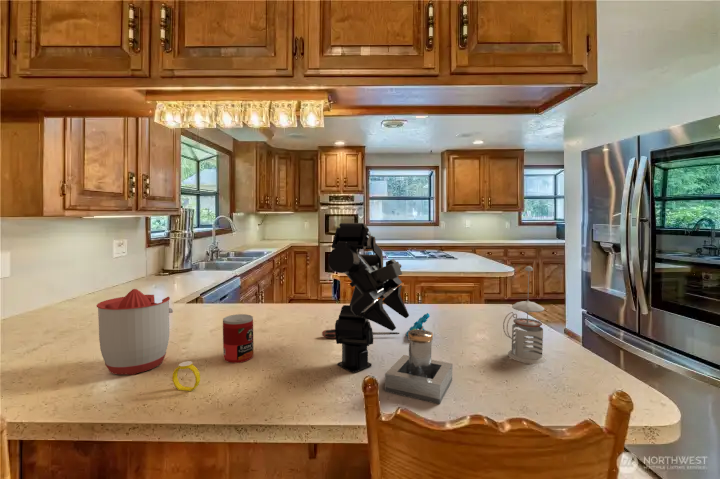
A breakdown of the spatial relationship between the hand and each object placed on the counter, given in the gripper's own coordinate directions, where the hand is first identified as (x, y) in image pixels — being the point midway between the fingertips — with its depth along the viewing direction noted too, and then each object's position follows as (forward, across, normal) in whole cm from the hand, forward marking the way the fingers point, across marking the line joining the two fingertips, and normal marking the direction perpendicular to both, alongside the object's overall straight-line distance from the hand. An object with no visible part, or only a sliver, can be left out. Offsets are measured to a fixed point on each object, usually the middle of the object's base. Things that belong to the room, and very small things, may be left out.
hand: (401, 322), depth 82 cm
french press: (+29, +28, -8) cm, 41 cm away
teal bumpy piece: (+8, +32, +15) cm, 36 cm away
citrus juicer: (-34, -22, +55) cm, 68 cm away
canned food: (-20, -7, +42) cm, 47 cm away
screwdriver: (-4, +22, +26) cm, 35 cm away
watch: (-19, -26, +39) cm, 50 cm away
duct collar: (+13, -1, +6) cm, 15 cm away
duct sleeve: (+12, -1, +5) cm, 13 cm away
